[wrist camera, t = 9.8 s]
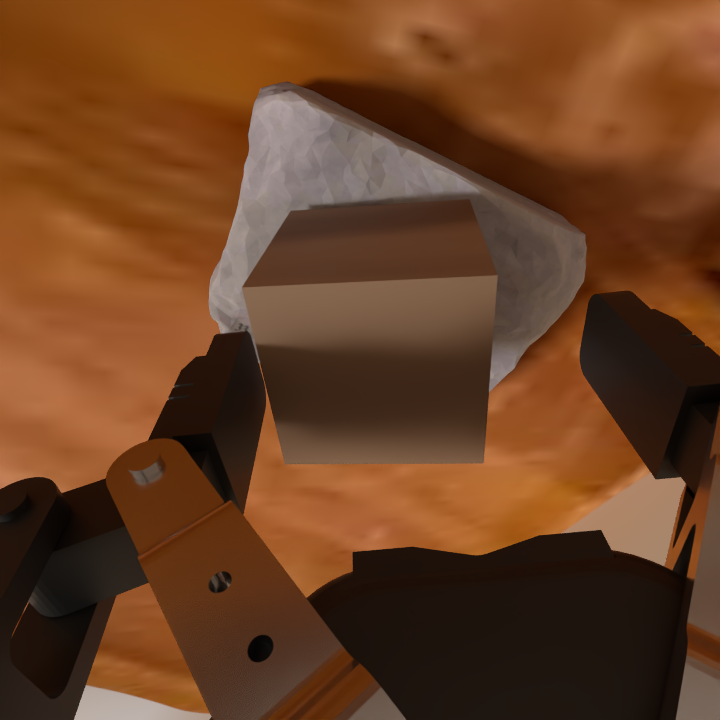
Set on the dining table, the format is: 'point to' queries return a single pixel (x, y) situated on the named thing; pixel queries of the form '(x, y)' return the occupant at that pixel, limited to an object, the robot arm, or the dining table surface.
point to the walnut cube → (377, 333)
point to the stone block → (390, 186)
